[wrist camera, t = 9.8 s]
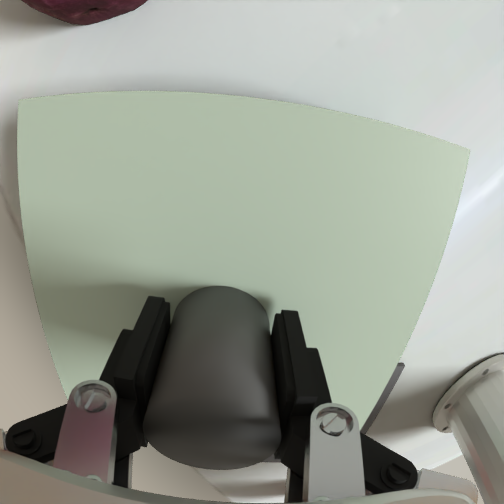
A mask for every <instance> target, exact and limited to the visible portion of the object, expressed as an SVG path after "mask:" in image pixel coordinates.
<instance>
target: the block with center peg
mask: <svg viewBox="0 0 504 504" xmlns="http://www.w3.org/2000/svg"><path fill="white" fill-rule="evenodd" d="M469 154H470V150H469V149H467V148H464V147H461V146H459V145H456V144H453V143H450V142H447V141H444V140H442V139H439V138H436V137H432V136H429V135H426V134H423V133H420V132H417V131H413V130H410V129H406V128H403V127H400V126H396V125H392V124H389V123H385V122H381V121H377V120H373V119H369V118H365V117H361V116H357V115H352V114H348V113H343V112H339V111H334V110H329V109H324V108H318V107H313V106H308V105H302V104H296V103H290V102H283V101H276V100H269V99H261V98H253V97H244V96H235V95H224V94H212V93H197V92H176V91H109V92H89V93H75V94H63V95H53V96H44V97H36V98H29V99H22V100H19V101H18V121H17V165H18V185H19V198H20V209H21V219H22V227H23V234H24V241H25V248H26V254H27V260H28V265H29V271H30V276H31V281H32V285H33V290H34V294H35V299H36V303H37V307H38V311H39V315H40V319H41V322H42V326H43V330H44V333H45V336H46V340H47V343H48V346H49V350H50V353H51V356H52V359H53V362H54V365H55V367H56V370H57V373H58V376H59V379H60V382H61V384H62V387H63V389H64V392H65V395H66V397H67V400H68V399H69V395H70V393H71V391H72V389H73V388H74V387H75V386H76V385H77V384H79V383H81V382H83V381H87V380H99V378H100V376H101V374H102V371H103V369H104V367H105V365H106V363H107V360H108V358H109V356H110V354H111V352H112V350H113V347H114V345H115V343H116V341H117V339H118V337H119V335H120V333H121V331H122V330H123V329H129V330H133V329H134V326H135V324H136V322H137V320H138V317H139V315H140V313H141V311H142V309H143V306H144V304H145V302H146V300H147V298H148V296H156V297H164V298H165V302H170V328H169V332H168V335H167V338H166V342H165V345H164V349H163V352H162V355H161V359H160V362H159V366H158V369H157V373H156V376H155V380H154V383H153V387H152V391H151V394H150V398H149V402H148V405H147V409H146V413H145V417H144V421H143V432H144V435H145V437H146V439H147V441H148V442H149V443H150V444H151V445H152V446H153V447H154V448H155V449H156V450H157V451H159V452H160V453H161V454H163V455H165V456H166V457H168V458H170V459H172V460H175V461H177V462H179V463H182V464H185V465H189V466H193V467H198V468H204V469H214V470H228V469H238V468H243V467H248V466H251V465H254V464H257V463H259V462H261V461H263V460H265V459H267V458H268V457H270V456H271V455H272V454H273V453H275V451H276V450H277V449H278V447H279V445H280V443H281V428H280V419H279V409H278V399H277V390H276V380H275V371H274V361H273V352H272V342H271V332H272V327H273V322H274V317H275V314H276V313H281V310H295V311H298V313H299V317H300V321H301V326H302V330H303V334H304V338H305V342H306V347H308V348H317V349H318V351H319V355H320V358H321V362H322V366H323V369H324V373H325V377H326V381H327V384H328V388H329V392H330V396H331V400H332V403H337V404H341V405H343V406H346V407H348V408H349V409H350V410H352V411H353V412H354V414H355V415H356V416H357V419H358V422H359V430H361V428H362V427H363V425H364V423H365V422H366V420H367V418H368V417H369V415H370V413H371V412H372V410H373V408H374V407H375V405H376V403H377V401H378V400H379V398H380V396H381V394H382V392H383V391H384V389H385V387H386V385H387V383H388V381H389V379H390V378H391V376H392V374H393V372H394V370H395V368H396V366H397V364H398V362H399V360H400V358H401V356H402V354H403V352H404V350H405V348H406V345H407V343H408V341H409V339H410V337H411V335H412V332H413V330H414V328H415V326H416V323H417V321H418V319H419V316H420V314H421V312H422V309H423V307H424V304H425V302H426V299H427V297H428V294H429V292H430V289H431V287H432V284H433V281H434V279H435V276H436V273H437V270H438V268H439V265H440V262H441V259H442V256H443V253H444V250H445V247H446V244H447V241H448V238H449V234H450V231H451V228H452V224H453V221H454V217H455V214H456V210H457V206H458V203H459V199H460V195H461V191H462V187H463V183H464V178H465V174H466V169H467V164H468V160H469Z"/></svg>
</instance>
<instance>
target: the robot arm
mask: <svg viewBox="0 0 504 504" xmlns="http://www.w3.org/2000/svg"><path fill="white" fill-rule="evenodd" d="M169 328H170V302H165V298H164V297H156V296H148V298H147V300H146V302H145V304H144V306H143V309H142V311H141V313H140V315H139V317H138V320H137V322H136V324H135V326H134V329H133V330H129V329H123V330H122V331H121V333H120V335H119V337H118V339H117V341H116V343H115V345H114V347H113V350H112V352H111V354H110V356H109V358H108V360H107V363H106V365H105V367H104V369H103V371H102V374H101V376H100V378H99V380H87V381H83V382H81V383H79V384H77V385H76V386H75V387H74V388H73V389H72V391H71V393H70V395H69V399H68V403H67V404H65V405H63V406H60V407H58V408H55V409H52V410H50V411H47V412H45V413H42V414H39V415H37V416H34V417H31V418H29V419H26V420H23V421H21V422H18V423H16V424H14V425H13V426H12V427H11V428H10V429H9V430H8V431H6V432H4V431H3V429H0V504H477V500H478V490H477V488H476V486H475V485H474V484H473V483H472V482H471V481H469V480H467V479H463V478H459V477H455V476H450V475H446V474H442V473H438V472H434V471H431V470H427V469H424V468H422V469H421V470H420V471H419V470H416V467H415V466H414V465H413V464H412V462H410V461H409V460H408V459H406V458H404V457H402V456H401V455H399V454H397V453H395V452H393V451H392V450H390V449H388V448H386V447H385V446H383V445H381V444H380V443H378V442H376V441H374V440H373V439H371V438H369V437H368V436H366V435H364V434H363V433H361V432H360V430H359V422H358V419H357V416H356V415H355V414H354V412H353V411H352V410H350V409H349V408H348V407H346V406H343V405H341V404H337V403H332V400H331V396H330V392H329V388H328V384H327V381H326V377H325V373H324V369H323V366H322V362H321V358H320V355H319V351H318V349H317V348H308V347H306V342H305V338H304V334H303V330H302V326H301V321H300V317H299V313H298V311H295V310H281V313H276V314H275V317H274V322H273V327H272V332H271V342H272V352H273V361H274V371H275V380H276V390H277V399H278V409H279V419H280V428H281V443H280V445H279V447H278V449H277V450H276V451H275V453H274V458H275V459H281V463H283V464H284V465H285V466H287V467H288V469H287V479H286V489H285V500H284V503H232V502H216V501H205V500H195V499H187V498H179V497H172V496H165V495H160V494H154V493H148V492H142V491H138V490H133V489H131V483H132V459H133V452H135V451H137V450H139V449H140V447H141V446H143V447H147V444H148V441H147V439H146V437H145V435H144V432H143V421H144V417H145V413H146V409H147V405H148V402H149V398H150V394H151V391H152V387H153V383H154V380H155V376H156V373H157V369H158V366H159V362H160V359H161V355H162V352H163V349H164V345H165V342H166V338H167V335H168V332H169ZM433 423H434V426H435V428H436V429H437V430H438V431H439V432H443V433H452V432H453V434H454V436H455V438H456V440H457V442H458V445H459V447H460V449H461V451H462V453H463V455H464V457H465V459H466V462H467V464H468V466H469V468H470V470H471V473H472V475H473V477H474V479H475V482H476V484H477V487H478V489H479V491H480V494H481V496H482V498H483V501H484V503H485V504H504V354H500V355H497V356H494V357H491V358H489V359H487V360H485V361H483V362H482V363H480V364H479V365H477V366H475V367H474V368H473V369H471V370H470V371H469V372H467V373H466V374H465V375H464V376H462V377H461V378H460V379H459V380H458V381H457V382H456V383H455V384H454V385H453V386H452V387H451V388H450V389H449V390H448V391H447V392H446V393H445V394H444V396H443V397H442V398H441V400H440V401H439V403H438V405H437V406H436V408H435V410H434V413H433Z"/></svg>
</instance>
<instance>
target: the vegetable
mask: <svg viewBox="0 0 504 504" xmlns="http://www.w3.org/2000/svg"><path fill="white" fill-rule="evenodd" d="M22 1H23V2H25V3H26V4H28V5H29V6H30V7H32V8H34V9H36V10H38V11H40V12H42V13H45V14H47V15H49V16H52V17H54V18H57V19H59V20H62V21H66V22H68V23H70V24H78V25H89V24H93V23H97V22H100V21H103V20H107V19H111V18H113V17H116V16H119V15H121V14H124V13H127V12H130V11H133V10H135V9H136V8H138V7H139V6H141V5H143V4H144V3H145V2H146V1H147V0H22Z"/></svg>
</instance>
